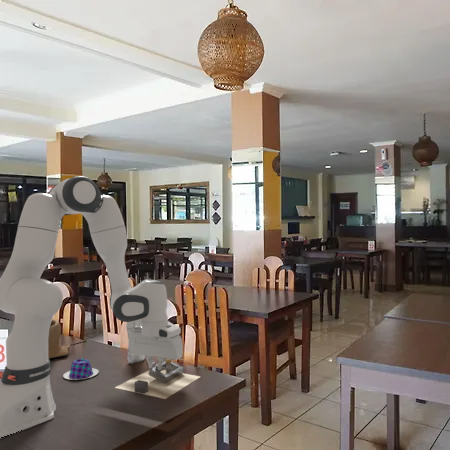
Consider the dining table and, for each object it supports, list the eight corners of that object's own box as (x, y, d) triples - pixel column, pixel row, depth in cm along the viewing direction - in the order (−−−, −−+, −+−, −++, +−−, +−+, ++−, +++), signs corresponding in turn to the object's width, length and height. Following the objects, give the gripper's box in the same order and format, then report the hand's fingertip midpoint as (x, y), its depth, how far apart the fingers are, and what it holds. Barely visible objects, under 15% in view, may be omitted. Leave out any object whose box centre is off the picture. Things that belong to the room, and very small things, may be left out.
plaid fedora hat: (105, 372, 160) (105, 357, 160) (81, 383, 150) (81, 368, 149) (80, 368, 165) (80, 354, 165) (55, 379, 155) (55, 364, 155)
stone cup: (31, 365, 169) (30, 326, 169) (30, 356, 180) (29, 319, 180) (73, 359, 176) (71, 321, 175) (70, 350, 186) (69, 315, 186)
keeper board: (165, 403, 131) (164, 378, 131) (114, 392, 141) (113, 368, 141) (200, 381, 149) (200, 358, 149) (153, 372, 158) (152, 351, 158)
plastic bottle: (141, 366, 165) (140, 313, 164) (124, 365, 166) (122, 312, 166) (147, 360, 171) (146, 309, 171) (131, 360, 172) (130, 309, 172)
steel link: (165, 383, 143) (166, 377, 143) (148, 374, 146) (149, 368, 146) (182, 373, 152) (183, 367, 152) (166, 365, 155) (167, 359, 155)
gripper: (124, 327, 150) (125, 367, 150) (173, 333, 140) (174, 376, 141) (136, 322, 156) (137, 361, 156) (184, 328, 146) (185, 370, 146)
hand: (155, 369), depth 148 cm, fingers closed on steel link
